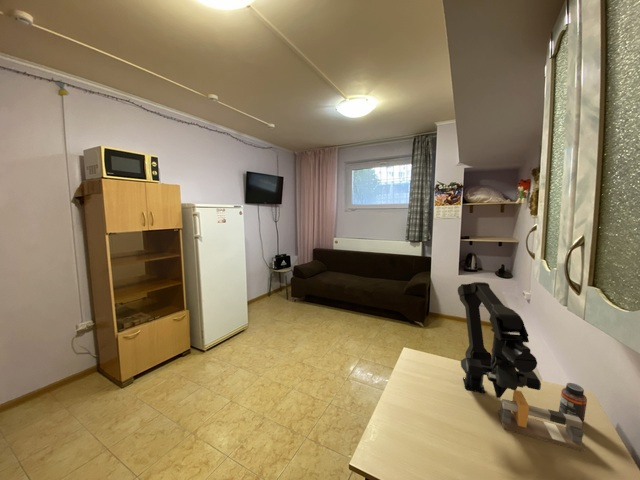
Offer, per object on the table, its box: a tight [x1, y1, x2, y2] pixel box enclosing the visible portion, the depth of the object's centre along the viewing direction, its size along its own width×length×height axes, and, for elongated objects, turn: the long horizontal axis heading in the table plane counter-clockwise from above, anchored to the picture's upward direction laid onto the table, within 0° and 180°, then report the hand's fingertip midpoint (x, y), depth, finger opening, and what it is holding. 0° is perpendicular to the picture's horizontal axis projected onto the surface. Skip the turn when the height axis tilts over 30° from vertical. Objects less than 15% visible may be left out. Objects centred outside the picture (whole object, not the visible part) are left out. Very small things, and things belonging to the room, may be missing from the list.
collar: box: [511, 389, 530, 427], centre depth 81 cm, size 7×2×7 cm, turn 158°
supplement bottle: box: [558, 382, 588, 425], centre depth 84 cm, size 6×6×11 cm
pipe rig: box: [497, 398, 585, 452], centre depth 80 cm, size 7×19×7 cm, turn 68°
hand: (497, 397), depth 83 cm, fingers closed
